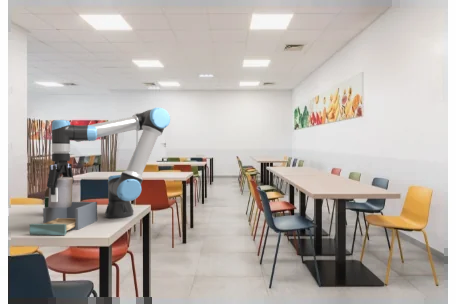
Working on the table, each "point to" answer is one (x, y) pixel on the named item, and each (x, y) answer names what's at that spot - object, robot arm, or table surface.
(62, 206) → the pillar candle
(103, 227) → the table surface
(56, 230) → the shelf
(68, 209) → the cradle
